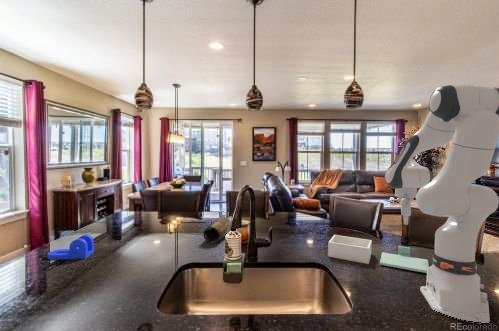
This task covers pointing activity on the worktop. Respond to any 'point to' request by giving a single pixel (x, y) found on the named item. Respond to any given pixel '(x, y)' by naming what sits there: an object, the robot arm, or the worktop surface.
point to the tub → (350, 248)
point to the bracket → (75, 249)
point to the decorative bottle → (218, 229)
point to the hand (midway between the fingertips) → (405, 222)
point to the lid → (404, 260)
